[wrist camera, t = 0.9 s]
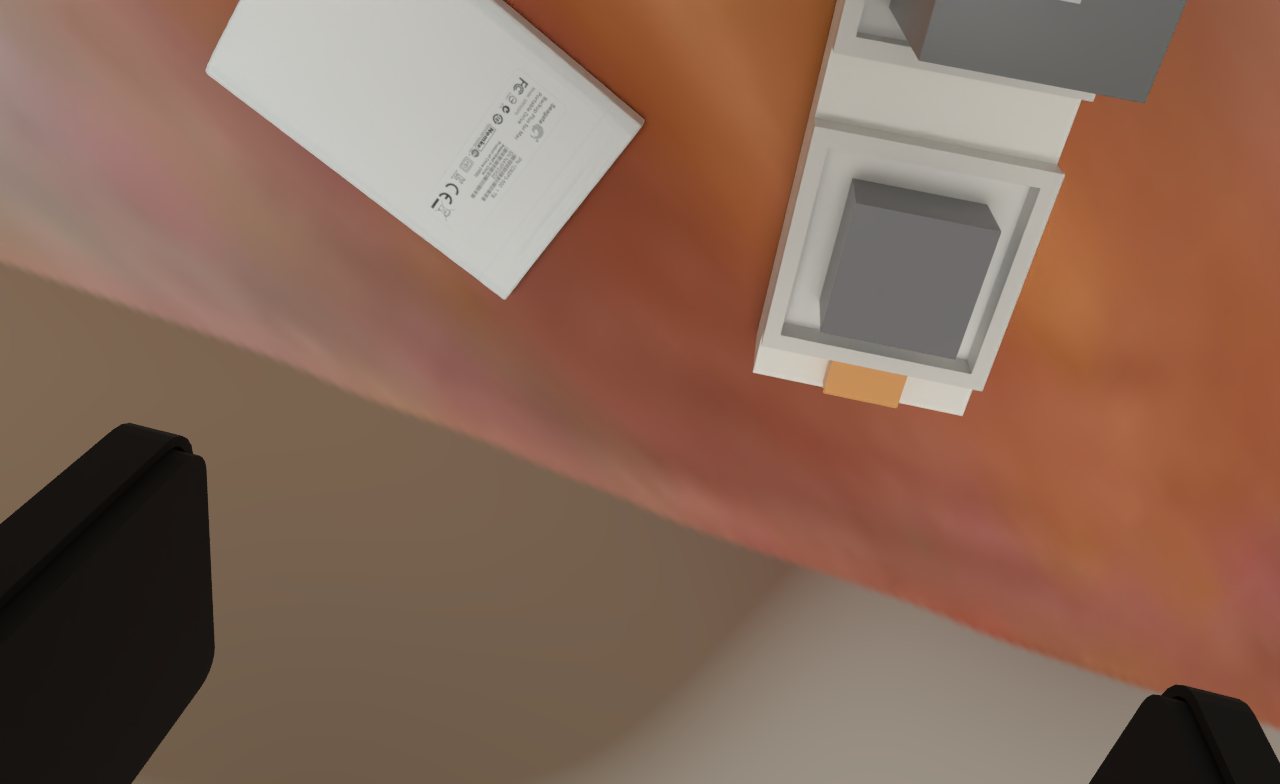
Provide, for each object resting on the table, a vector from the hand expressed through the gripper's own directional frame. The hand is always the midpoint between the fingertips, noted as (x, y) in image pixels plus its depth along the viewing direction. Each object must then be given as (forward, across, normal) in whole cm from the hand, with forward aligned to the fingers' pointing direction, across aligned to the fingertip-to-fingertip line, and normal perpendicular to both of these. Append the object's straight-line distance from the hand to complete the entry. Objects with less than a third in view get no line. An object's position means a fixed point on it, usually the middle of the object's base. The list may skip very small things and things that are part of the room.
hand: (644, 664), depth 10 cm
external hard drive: (+26, +11, +2) cm, 28 cm away
